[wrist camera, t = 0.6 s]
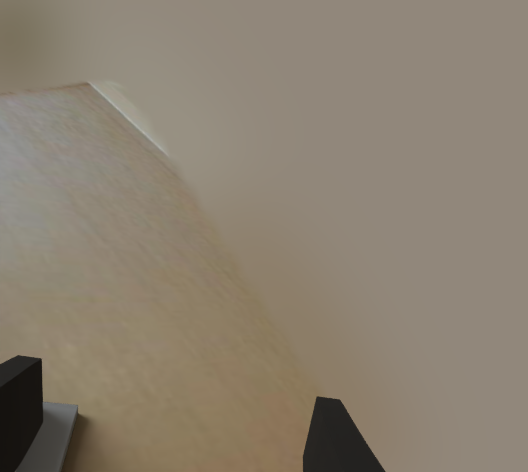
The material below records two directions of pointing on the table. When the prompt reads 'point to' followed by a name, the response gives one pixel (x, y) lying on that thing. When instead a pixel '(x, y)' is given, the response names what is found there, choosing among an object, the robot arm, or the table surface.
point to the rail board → (51, 439)
